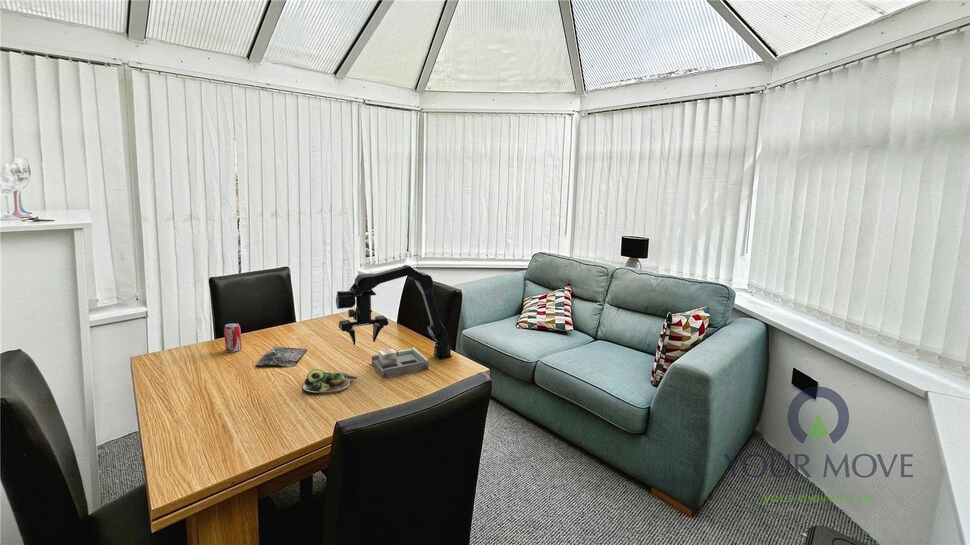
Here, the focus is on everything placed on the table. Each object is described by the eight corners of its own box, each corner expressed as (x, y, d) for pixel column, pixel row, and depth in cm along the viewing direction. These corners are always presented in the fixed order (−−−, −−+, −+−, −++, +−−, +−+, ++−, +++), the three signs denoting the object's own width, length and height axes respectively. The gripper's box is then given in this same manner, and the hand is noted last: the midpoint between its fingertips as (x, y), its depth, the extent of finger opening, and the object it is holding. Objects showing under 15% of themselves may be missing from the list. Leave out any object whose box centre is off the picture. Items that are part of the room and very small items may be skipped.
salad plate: (358, 373, 177) (358, 362, 176) (356, 393, 160) (356, 381, 159) (308, 376, 173) (307, 365, 172) (299, 397, 156) (299, 385, 155)
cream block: (392, 357, 188) (392, 348, 187) (396, 361, 184) (396, 352, 183) (379, 359, 185) (378, 350, 184) (382, 364, 181) (382, 354, 180)
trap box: (413, 355, 195) (413, 347, 194) (428, 369, 182) (428, 360, 181) (371, 363, 186) (371, 354, 185) (384, 378, 172) (383, 368, 171)
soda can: (245, 349, 196) (242, 324, 193) (230, 354, 190) (228, 328, 188) (237, 346, 199) (235, 321, 196) (223, 350, 194) (220, 325, 191)
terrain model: (294, 368, 180) (293, 361, 179) (256, 369, 178) (255, 361, 178) (309, 350, 199) (308, 343, 199) (274, 350, 198) (274, 343, 197)
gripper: (379, 299, 186) (380, 334, 189) (334, 303, 176) (335, 340, 179) (388, 305, 177) (388, 342, 180) (341, 311, 167) (342, 349, 170)
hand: (364, 343), depth 177 cm, fingers open, 8 cm apart
